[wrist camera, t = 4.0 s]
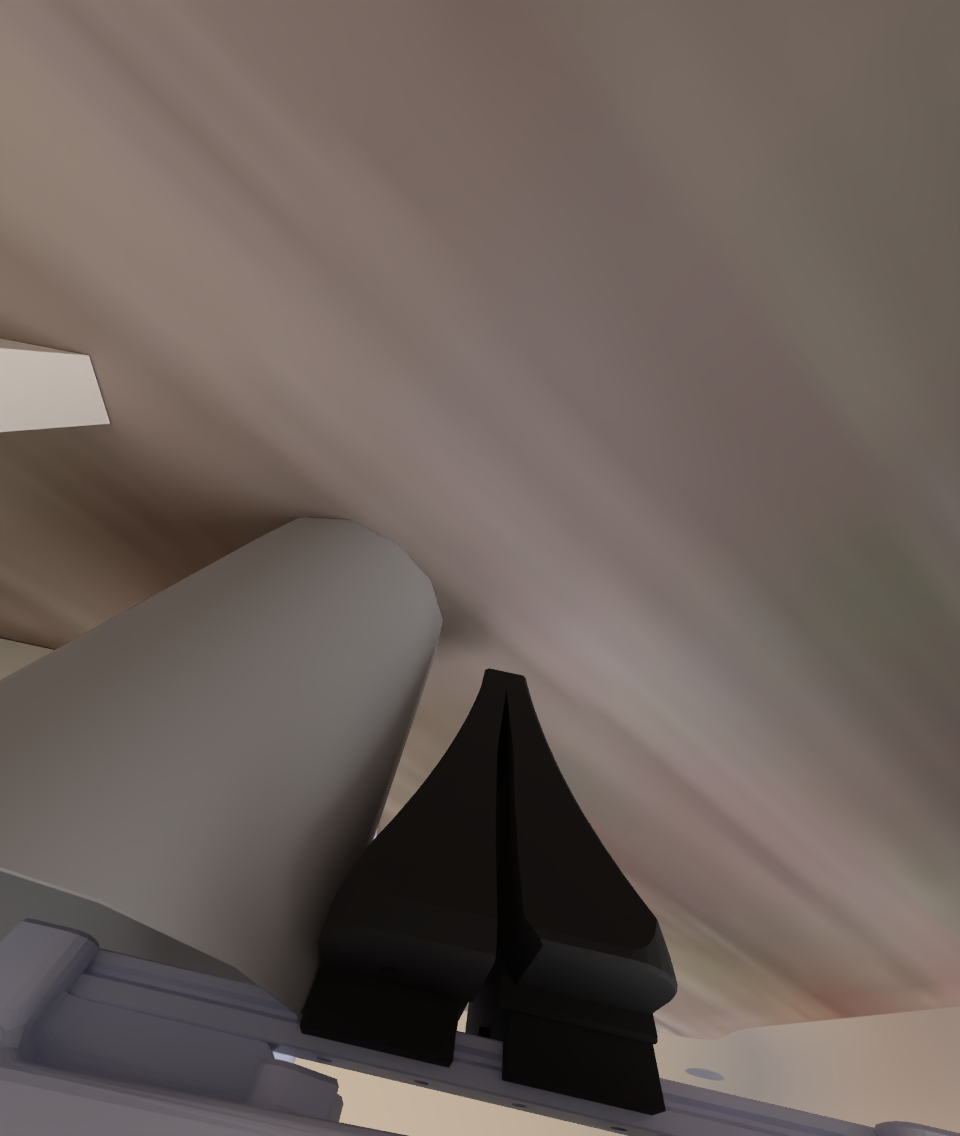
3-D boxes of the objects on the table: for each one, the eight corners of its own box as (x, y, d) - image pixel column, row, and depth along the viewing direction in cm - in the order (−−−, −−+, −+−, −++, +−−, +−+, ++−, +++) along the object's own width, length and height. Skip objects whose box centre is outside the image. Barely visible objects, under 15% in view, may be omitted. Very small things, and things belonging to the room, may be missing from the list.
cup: (207, 588, 15) (-282, 892, 6) (330, 469, 12) (-282, 718, 3) (351, 710, 17) (167, 1053, 8) (482, 638, 14) (415, 1050, 5)
